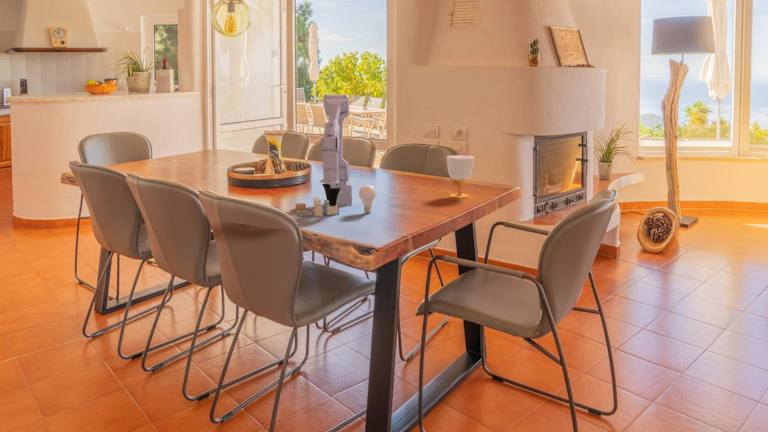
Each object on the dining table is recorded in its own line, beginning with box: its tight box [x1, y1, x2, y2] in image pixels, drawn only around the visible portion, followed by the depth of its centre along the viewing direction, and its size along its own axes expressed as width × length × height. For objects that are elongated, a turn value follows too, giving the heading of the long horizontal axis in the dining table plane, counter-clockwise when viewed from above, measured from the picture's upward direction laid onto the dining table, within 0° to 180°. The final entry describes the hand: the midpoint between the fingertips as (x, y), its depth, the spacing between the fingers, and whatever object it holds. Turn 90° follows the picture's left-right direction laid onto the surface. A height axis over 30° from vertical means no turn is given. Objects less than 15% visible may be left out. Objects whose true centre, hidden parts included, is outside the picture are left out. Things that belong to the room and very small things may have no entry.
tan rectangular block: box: [311, 197, 325, 217], centre depth 242 cm, size 3×12×5 cm, turn 12°
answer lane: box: [294, 207, 308, 214], centre depth 247 cm, size 4×10×1 cm, turn 12°
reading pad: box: [297, 211, 313, 218], centre depth 240 cm, size 5×6×1 cm
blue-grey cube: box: [323, 199, 340, 216], centre depth 241 cm, size 5×5×5 cm
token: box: [294, 202, 307, 211], centre depth 248 cm, size 4×4×2 cm
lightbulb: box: [358, 184, 377, 215], centre depth 241 cm, size 6×6×11 cm
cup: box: [446, 154, 475, 199], centre depth 273 cm, size 12×12×17 cm
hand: (331, 204), depth 241 cm, fingers open, 7 cm apart
